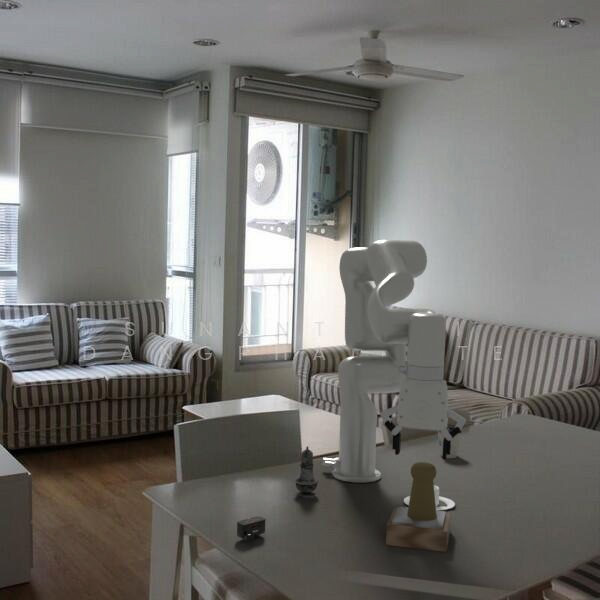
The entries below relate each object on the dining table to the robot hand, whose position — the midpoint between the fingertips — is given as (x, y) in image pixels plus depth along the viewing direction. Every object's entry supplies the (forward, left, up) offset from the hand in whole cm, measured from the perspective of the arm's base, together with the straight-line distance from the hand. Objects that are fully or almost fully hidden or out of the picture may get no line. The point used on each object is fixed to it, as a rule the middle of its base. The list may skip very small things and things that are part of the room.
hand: (420, 455), depth 163 cm
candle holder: (0, +24, -18) cm, 30 cm away
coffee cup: (+2, +67, -17) cm, 70 cm away
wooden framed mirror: (0, -1, -17) cm, 17 cm away
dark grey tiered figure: (-29, +21, -17) cm, 39 cm away
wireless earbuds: (-33, -10, -18) cm, 38 cm away
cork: (+1, 0, -13) cm, 13 cm away
